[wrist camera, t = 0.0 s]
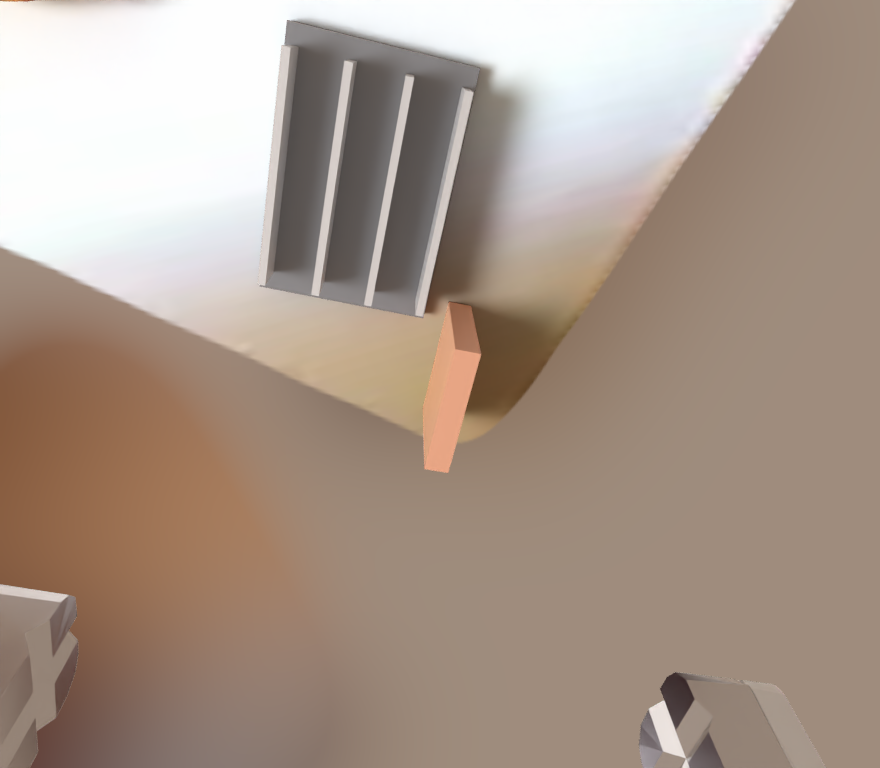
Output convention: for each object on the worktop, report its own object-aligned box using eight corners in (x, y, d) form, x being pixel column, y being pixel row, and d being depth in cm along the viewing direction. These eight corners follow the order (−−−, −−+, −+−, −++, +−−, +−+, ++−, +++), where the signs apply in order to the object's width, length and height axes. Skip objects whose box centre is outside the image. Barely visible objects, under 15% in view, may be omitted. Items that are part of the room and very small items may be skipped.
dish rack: (289, 20, 47) (277, 18, 43) (478, 67, 49) (484, 70, 45) (262, 281, 56) (250, 301, 52) (422, 313, 58) (423, 334, 54)
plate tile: (448, 301, 58) (455, 349, 49) (470, 305, 58) (481, 354, 49) (422, 408, 63) (424, 469, 54) (443, 411, 63) (448, 472, 54)
